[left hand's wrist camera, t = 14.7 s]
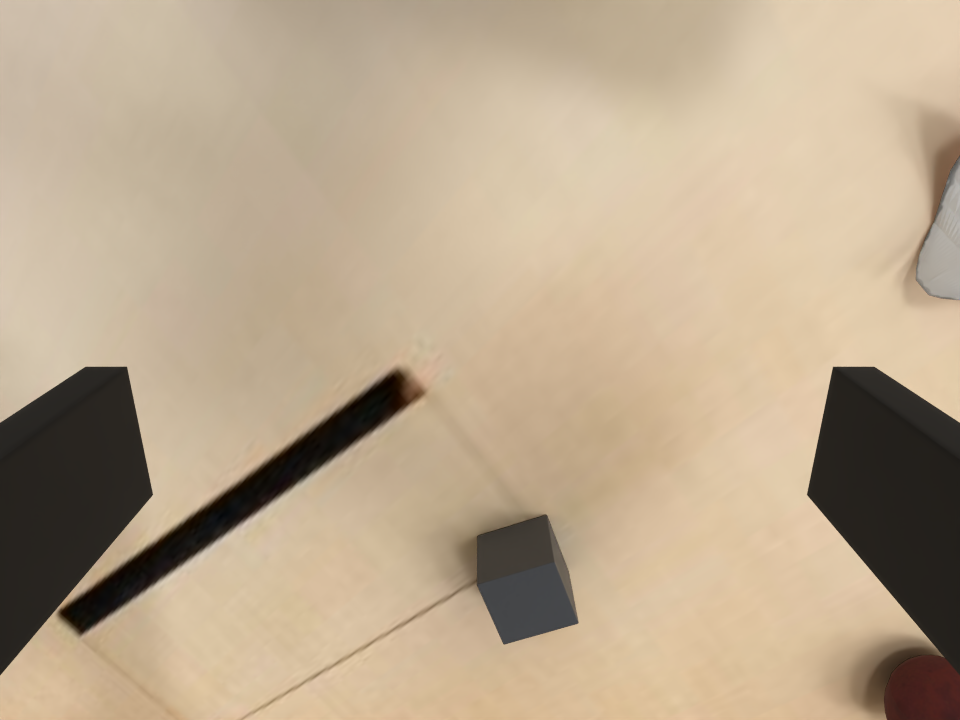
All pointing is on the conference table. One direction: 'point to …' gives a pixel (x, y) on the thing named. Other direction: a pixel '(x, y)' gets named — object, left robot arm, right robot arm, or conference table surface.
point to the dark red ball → (923, 690)
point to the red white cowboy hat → (943, 245)
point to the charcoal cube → (525, 580)
